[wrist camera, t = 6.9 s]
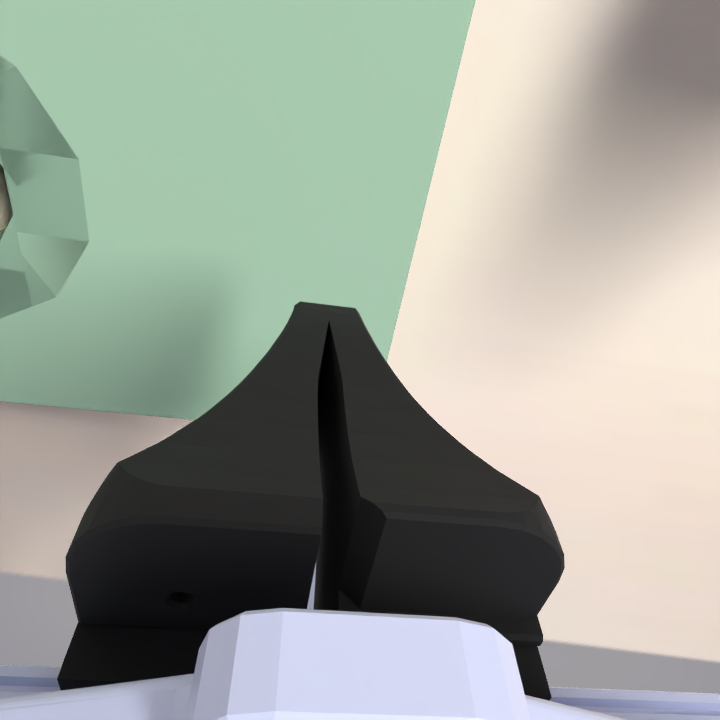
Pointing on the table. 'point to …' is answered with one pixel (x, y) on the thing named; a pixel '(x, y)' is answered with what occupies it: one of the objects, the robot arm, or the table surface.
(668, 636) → the table surface
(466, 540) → the robot arm
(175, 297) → the deck
